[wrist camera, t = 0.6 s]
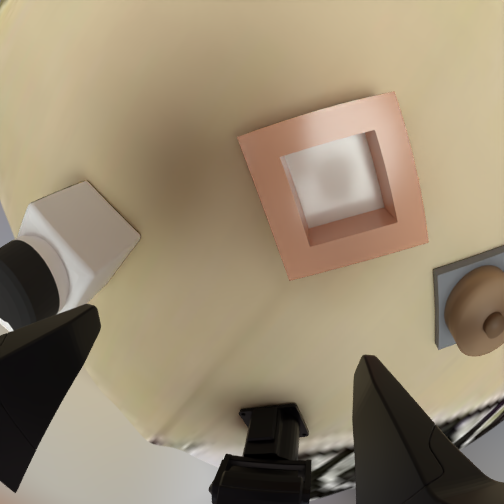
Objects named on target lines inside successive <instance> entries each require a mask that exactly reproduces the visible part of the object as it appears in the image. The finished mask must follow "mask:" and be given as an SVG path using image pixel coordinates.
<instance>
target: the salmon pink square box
mask: <svg viewBox="0 0 504 504" xmlns="http://www.w3.org/2000/svg"><path fill="white" fill-rule="evenodd" d="M237 139H238V142H239V144H240V147H241V150H242V152H243V155H244V157H245V160H246V163H247V165H248V168H249V171H250V173H251V176H252V179H253V181H254V184H255V187H256V189H257V192H258V195H259V198H260V200H261V203H262V206H263V208H264V211H265V214H266V217H267V219H268V222H269V225H270V228H271V230H272V233H273V236H274V239H275V241H276V244H277V247H278V250H279V253H280V255H281V258H282V261H283V264H284V267H285V270H286V272H287V275H288V278H289V281H291V280H295V279H299V278H303V277H306V276H310V275H314V274H318V273H322V272H326V271H329V270H333V269H337V268H341V267H344V266H348V265H352V264H355V263H359V262H363V261H366V260H370V259H373V258H377V257H380V256H384V255H388V254H391V253H394V252H398V251H401V250H405V249H408V248H412V247H415V246H418V245H422V244H425V243H428V242H429V241H428V233H427V226H426V219H425V212H424V206H423V201H422V195H421V190H420V185H419V180H418V175H417V170H416V166H415V161H414V157H413V153H412V149H411V145H410V141H409V137H408V134H407V130H406V127H405V123H404V120H403V116H402V113H401V110H400V107H399V103H398V100H397V97H396V94H395V91H394V92H389V93H384V94H380V95H375V96H371V97H367V98H363V99H358V100H354V101H350V102H347V103H343V104H339V105H335V106H332V107H328V108H324V109H321V110H317V111H314V112H310V113H307V114H304V115H301V116H297V117H294V118H291V119H288V120H285V121H282V122H279V123H275V124H272V125H270V126H267V127H264V128H261V129H258V130H255V131H252V132H250V133H247V134H244V135H241V136H239V137H237Z"/></svg>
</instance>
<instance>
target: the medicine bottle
mask: <svg viewBox="0 0 504 504" xmlns="http://www.w3.org/2000/svg"><path fill="white" fill-rule="evenodd" d="M139 240H140V235H139V233H138V232H137V231H136V230H135V229H134V228H133V227H132V226H131V225H130V224H129V223H128V222H127V221H126V220H125V219H124V218H123V217H122V216H121V215H120V214H119V213H118V212H117V211H116V210H115V209H114V208H113V207H112V206H111V205H110V204H109V203H108V202H107V201H106V200H105V199H104V198H103V197H102V196H101V195H100V194H99V193H98V192H97V191H96V190H95V189H94V187H93V186H92V185H91V184H90V183H89V182H88V181H83V182H80V183H77V184H75V185H72V186H70V187H67V188H65V189H62V190H60V191H57V192H55V193H52V194H50V195H48V196H45V197H43V198H41V199H38V200H36V201H34V202H32V203H30V204H29V205H28V207H27V210H26V212H25V215H24V218H23V221H22V224H21V227H20V230H19V233H18V236H17V238H16V239H14V240H12V241H11V242H9V243H7V244H5V245H4V246H2V247H1V248H0V324H1V325H2V326H3V327H4V328H6V329H7V330H8V331H9V332H11V331H14V330H16V329H19V328H22V327H24V326H27V325H30V324H32V323H35V322H38V321H41V320H43V319H46V318H49V317H51V316H54V315H57V314H59V313H62V312H65V311H67V310H70V309H73V308H76V307H78V306H81V305H84V304H87V303H88V302H89V301H90V300H91V299H92V298H93V297H94V296H95V295H96V294H97V293H98V292H99V291H100V290H101V289H102V288H103V287H104V286H105V285H106V284H107V283H108V281H109V280H110V279H111V277H112V276H113V275H114V273H115V272H116V270H117V269H118V268H119V266H120V265H121V264H122V262H123V261H124V260H125V258H126V257H127V256H128V254H129V253H130V252H131V250H132V249H133V248H134V247H135V245H136V244H137V243H138V241H139Z"/></svg>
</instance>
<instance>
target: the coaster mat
mask: <svg viewBox="0 0 504 504" xmlns="http://www.w3.org/2000/svg"><path fill="white" fill-rule="evenodd" d="M485 265H493V266H496V267H498V268H500V269H501V270H502V271H503V272H504V245H503V246H501V247H498V248H495V249H492V250H490V251H487V252H484V253H481V254H478V255H476V256H473V257H470V258H467V259H464V260H461V261H458V262H455V263H452V264H449V265H446V266H443V267H440V268H436V269H433V275H434V291H435V343H436V345H437V348H438V350H439V349H442V348H445V347H448V346H451V345H454V344H456V342H455V340H454V338H453V336H452V334H451V333H450V331H449V329H448V327H447V325H446V323H445V319H444V310H445V305H446V302H447V299H448V297H449V295H450V293H451V291H452V290H453V288H454V287H455V285H456V284H457V283H458V282H459V281H460V279H461V278H463V277H464V276H465V275H466V274H467V273H469V272H470V271H472V270H474V269H475V268H478V267H481V266H485Z"/></svg>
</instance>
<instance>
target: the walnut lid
mask: <svg viewBox="0 0 504 504" xmlns="http://www.w3.org/2000/svg"><path fill="white" fill-rule="evenodd" d="M444 319H445V323H446V325H447V327H448V329H449V331H450V333H451V334H452V336H453V338H454V340H455V342H456V344H457V346H458V348H459V349H460V351H461V352H462V353H464V354H465V355H468V356H481V355H485V354H487V353H489V352H492V351H493V350H495V349H497V348H498V347H499V346H501V345H502V344H503V343H504V272H503V271H502V270H501V269H500V268H498V267H496V266H493V265H485V266H481V267H478V268H475V269H474V270H472V271H470V272H469V273H467V274H466V275H465V276H464V277H463V278H461V279H460V281H459V282H458V283H457V284H456V285H455V287H454V288H453V290H452V291H451V293H450V295H449V297H448V299H447V302H446V305H445V310H444Z"/></svg>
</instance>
